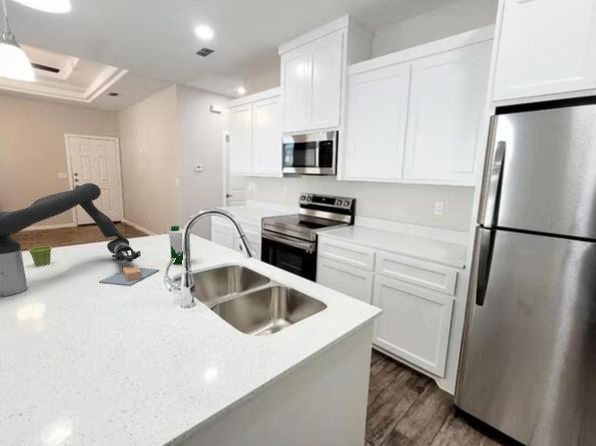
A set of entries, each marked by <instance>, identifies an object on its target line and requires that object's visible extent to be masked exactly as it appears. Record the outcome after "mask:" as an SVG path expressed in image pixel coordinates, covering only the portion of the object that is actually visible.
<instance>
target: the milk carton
mask: <svg viewBox="0 0 596 446" xmlns="http://www.w3.org/2000/svg"><path fill="white" fill-rule="evenodd" d="M183 229H184V228H180V226H179V225H173V226H171V227H170V230H169V231H167V233H168V237H169V243H170V244H169V245H170V260H171V259H172V258H176V260H175V262H174V263H173V264H172V265H177V266H183V265H182V260H183V251H182V231H183Z"/></svg>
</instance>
